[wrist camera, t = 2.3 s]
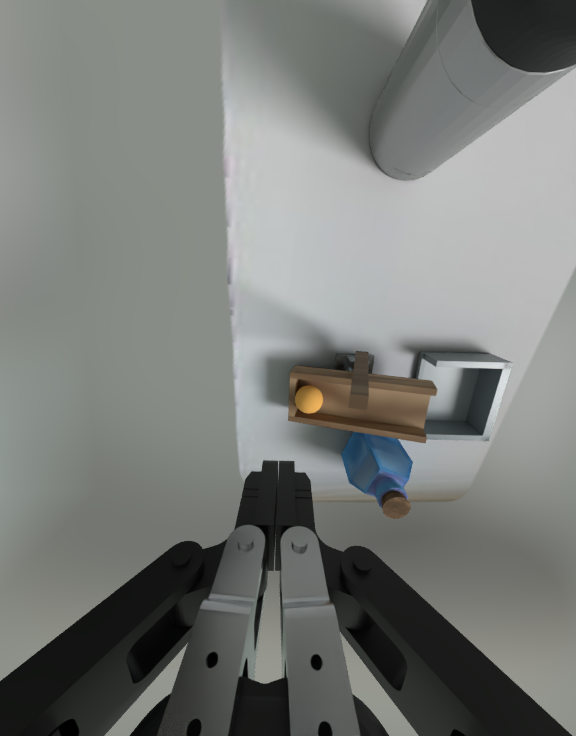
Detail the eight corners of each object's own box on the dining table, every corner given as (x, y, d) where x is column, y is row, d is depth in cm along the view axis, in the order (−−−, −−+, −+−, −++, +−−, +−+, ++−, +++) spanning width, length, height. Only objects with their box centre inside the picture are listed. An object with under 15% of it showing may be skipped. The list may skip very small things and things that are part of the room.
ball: (298, 379, 36) (292, 390, 33) (325, 382, 36) (322, 393, 32) (297, 404, 38) (291, 416, 34) (323, 407, 37) (320, 420, 34)
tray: (420, 351, 37) (434, 360, 33) (490, 353, 37) (513, 362, 33) (406, 423, 41) (418, 439, 37) (470, 425, 41) (488, 440, 37)
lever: (296, 343, 36) (255, 381, 23) (437, 355, 32) (485, 411, 19) (293, 411, 39) (257, 478, 26) (421, 431, 35) (452, 522, 22)
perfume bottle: (395, 435, 41) (434, 496, 30) (376, 466, 43) (406, 534, 32) (359, 422, 41) (385, 479, 29) (341, 454, 43) (359, 519, 31)
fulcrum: (336, 353, 37) (340, 361, 34) (372, 354, 37) (380, 362, 34) (330, 418, 40) (333, 430, 37) (364, 419, 40) (370, 430, 37)
